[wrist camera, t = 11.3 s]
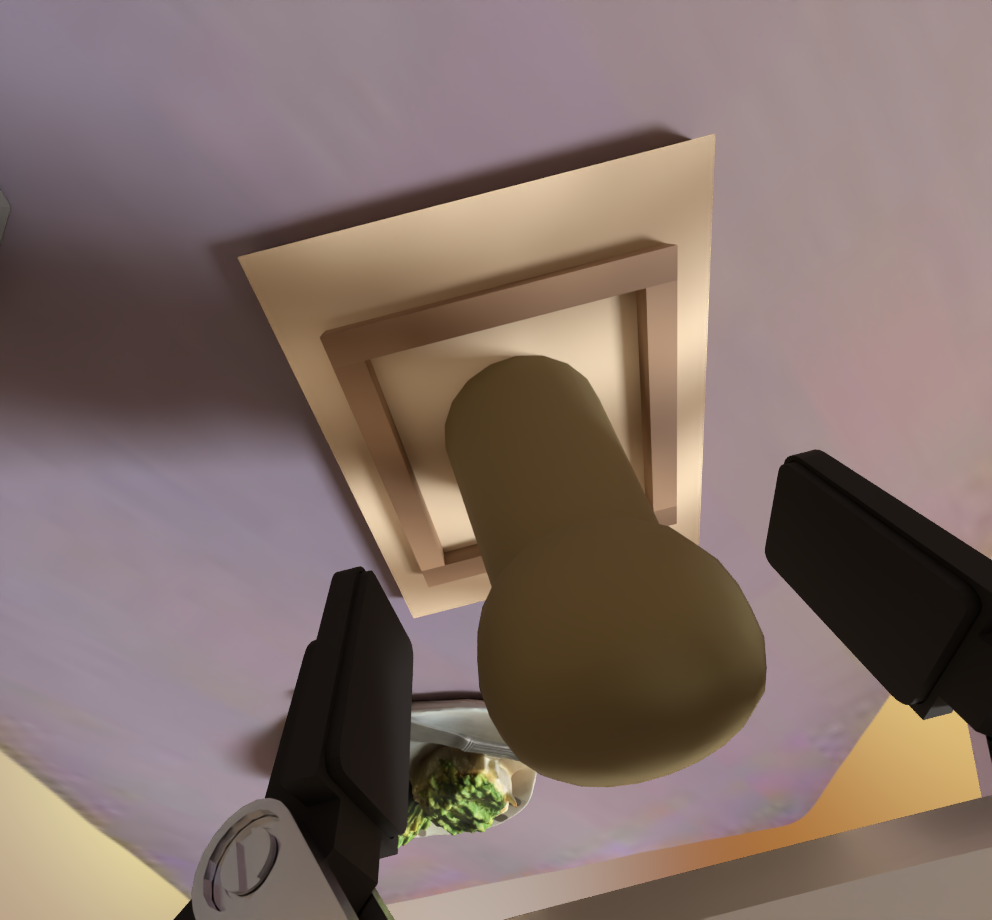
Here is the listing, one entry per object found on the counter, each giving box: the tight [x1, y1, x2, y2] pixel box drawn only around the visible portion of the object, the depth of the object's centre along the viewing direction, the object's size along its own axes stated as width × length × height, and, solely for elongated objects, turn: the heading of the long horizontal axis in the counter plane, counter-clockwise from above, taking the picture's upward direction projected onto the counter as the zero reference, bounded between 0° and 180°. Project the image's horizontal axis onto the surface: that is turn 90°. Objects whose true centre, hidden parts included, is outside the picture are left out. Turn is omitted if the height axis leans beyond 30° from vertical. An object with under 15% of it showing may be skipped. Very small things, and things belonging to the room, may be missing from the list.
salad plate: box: [398, 699, 537, 848], centre depth 28 cm, size 19×18×5 cm
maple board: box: [237, 134, 715, 618], centre depth 16 cm, size 16×14×2 cm
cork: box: [445, 356, 767, 787], centre depth 11 cm, size 6×6×11 cm
